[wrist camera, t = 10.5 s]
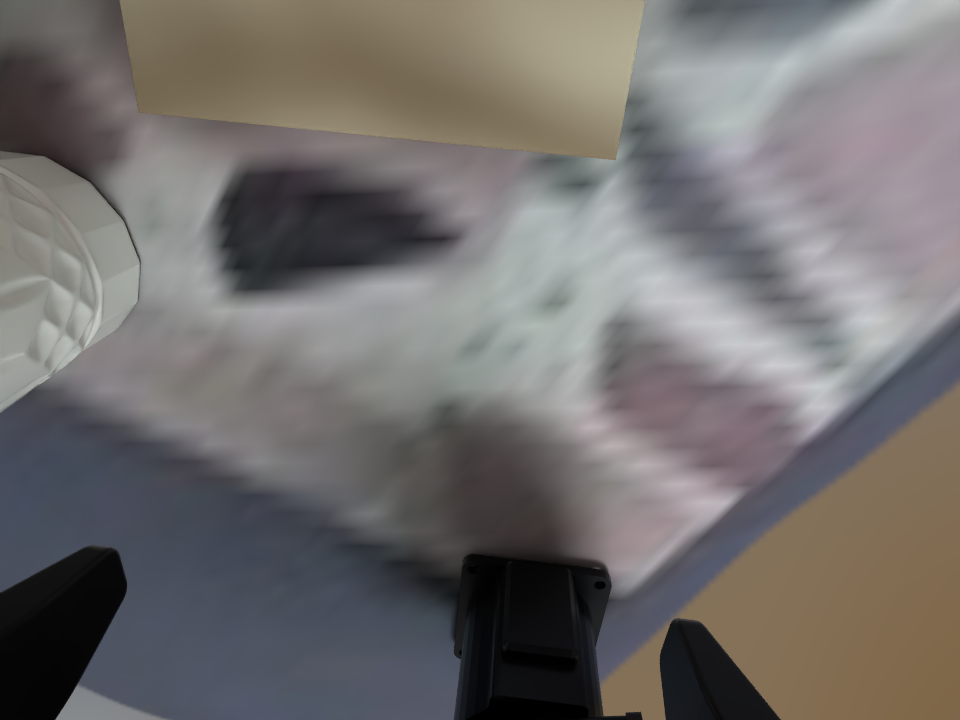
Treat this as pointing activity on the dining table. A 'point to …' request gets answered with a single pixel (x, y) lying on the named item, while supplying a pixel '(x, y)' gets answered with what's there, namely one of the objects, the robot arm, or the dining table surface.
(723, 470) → the dining table surface
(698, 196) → the dining table surface
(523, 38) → the birch board
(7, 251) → the white cup
